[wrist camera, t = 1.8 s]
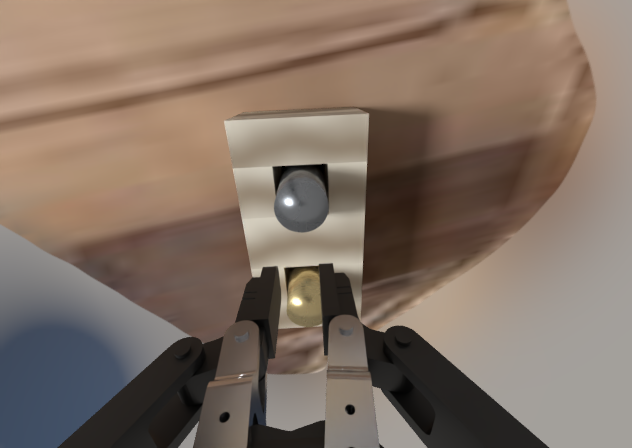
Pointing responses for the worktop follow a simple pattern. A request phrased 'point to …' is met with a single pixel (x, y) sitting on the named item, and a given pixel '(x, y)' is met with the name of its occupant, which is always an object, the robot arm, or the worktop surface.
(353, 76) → the worktop surface
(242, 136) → the ash socket block
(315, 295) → the brass peg
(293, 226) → the steel peg
